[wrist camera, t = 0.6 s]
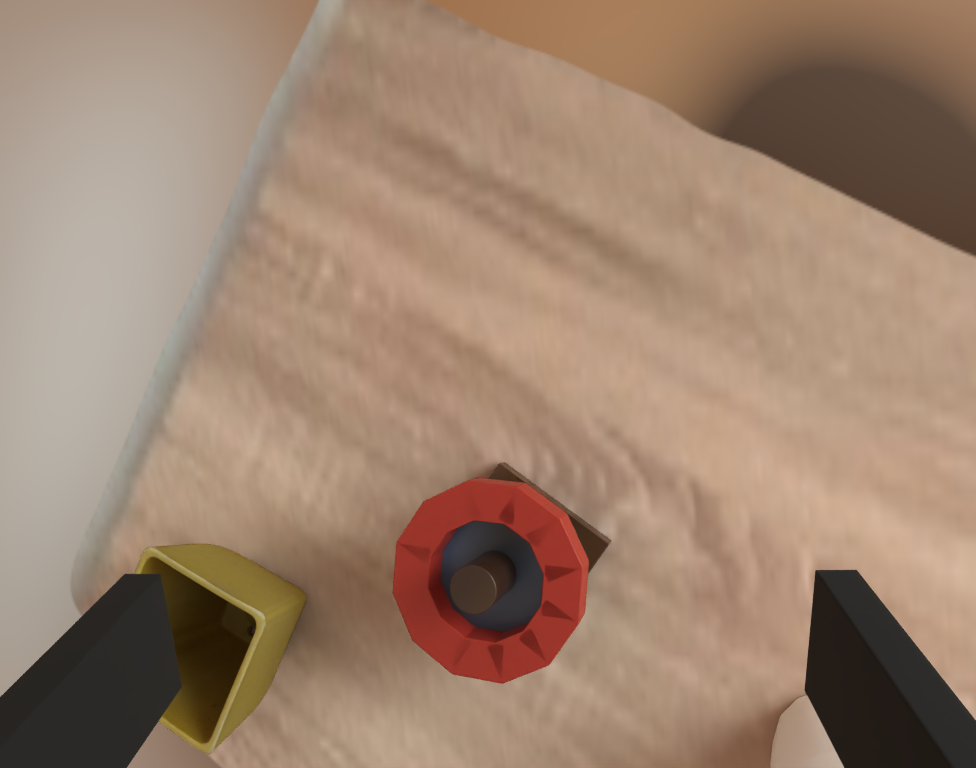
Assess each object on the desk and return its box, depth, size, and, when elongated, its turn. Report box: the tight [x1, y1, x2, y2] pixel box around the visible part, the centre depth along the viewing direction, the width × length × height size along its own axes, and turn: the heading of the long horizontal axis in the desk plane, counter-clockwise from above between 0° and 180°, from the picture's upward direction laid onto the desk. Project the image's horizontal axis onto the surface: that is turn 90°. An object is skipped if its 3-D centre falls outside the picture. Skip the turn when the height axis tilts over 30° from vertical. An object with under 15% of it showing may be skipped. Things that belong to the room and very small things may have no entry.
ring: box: [393, 478, 589, 683], centre depth 39 cm, size 10×10×2 cm
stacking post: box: [441, 463, 611, 632], centre depth 40 cm, size 8×8×10 cm
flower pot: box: [134, 544, 306, 754], centre depth 46 cm, size 9×9×9 cm
